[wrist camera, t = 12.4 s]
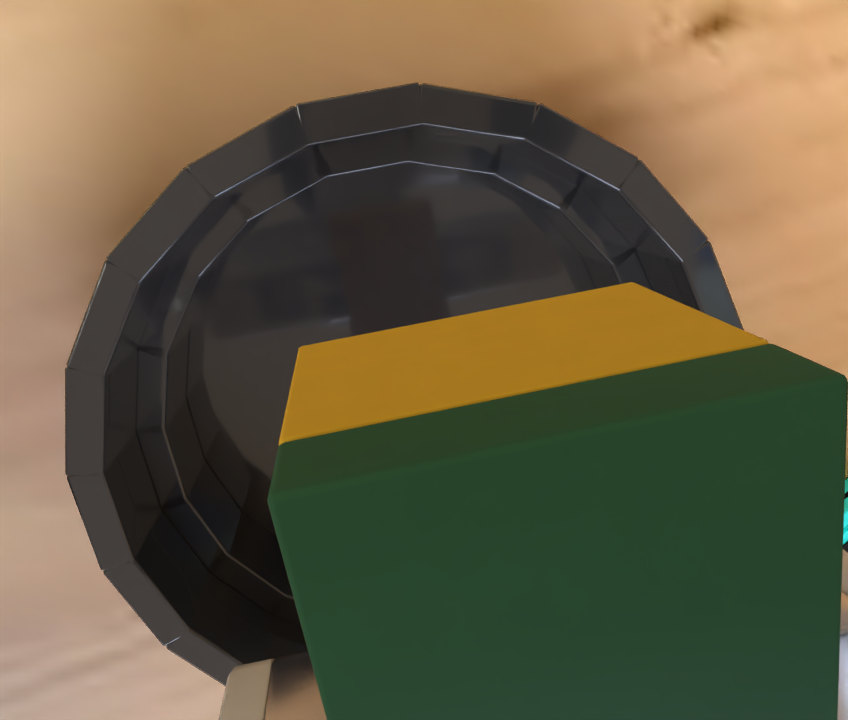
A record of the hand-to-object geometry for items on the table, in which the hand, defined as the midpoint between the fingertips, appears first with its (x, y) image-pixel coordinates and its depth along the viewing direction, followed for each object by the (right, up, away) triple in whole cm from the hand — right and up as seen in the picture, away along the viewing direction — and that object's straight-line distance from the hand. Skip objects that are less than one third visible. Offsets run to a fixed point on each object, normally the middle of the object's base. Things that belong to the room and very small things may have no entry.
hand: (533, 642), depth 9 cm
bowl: (-2, +3, +12) cm, 13 cm away
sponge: (0, +1, +1) cm, 2 cm away
